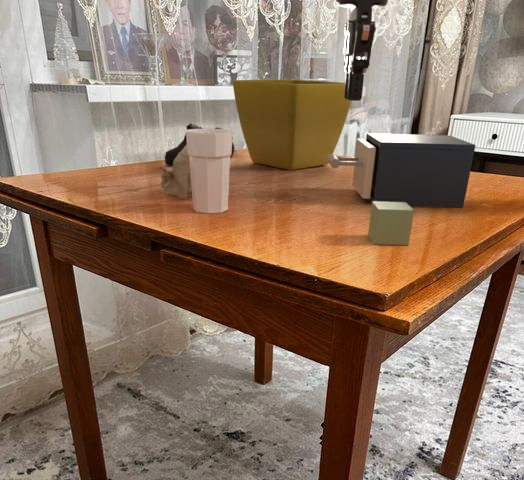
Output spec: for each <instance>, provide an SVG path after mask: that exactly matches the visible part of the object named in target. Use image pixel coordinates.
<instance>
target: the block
mask: <svg viewBox="0 0 524 480" xmlns="http://www.w3.org/2000/svg"><path fill="white" fill-rule="evenodd" d="M370 205H371V206H370V215H369V222H368V229H367V231H368V232H367V236H368V237H369V239H370V240H371V242H372V243H373V245H379V246H381V245H382V246H385V245H386V246H409V245H410V240H411V234H412V227H413V221H414V215H415V210H414V209H413V207H412V206H409V205H408V204H407V203H406V202H380V201H372V203H371V204H370Z"/></svg>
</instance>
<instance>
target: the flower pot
mask: <svg viewBox="0 0 524 480" xmlns="http://www.w3.org/2000/svg"><path fill="white" fill-rule="evenodd" d="M232 89H233V94H234V100H235V106H236V110H237V111H236V112H237V116H238V120H239V124H240V128H241V132H242V135H243V139H244V142H245V145H246V148H247V151H248V154H249V157H250V159H251V162H252V163H254V164H260V165H265V166H269V167H272V168H273V167H274V168H279V169H283V170H288V171H289V170H290V171H294V170H299V169H300V170H301V169H305V168H312V167H320V166H326V165H328V164H329V162H328V161H327V156H328V155H329V154H334V152H335V150H336V147H337V145H338V143H339V140H340V138H341V135H342V133H343V129H344V127H345V123H346V120H347V117H348V114H349V111H350V108H351V104H352V101H350V100H348V99H345V98H344V91H345V82H341V81H324V80H307V79H305V80H304V79H233V80H232Z"/></svg>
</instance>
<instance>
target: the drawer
mask: <svg viewBox="0 0 524 480" xmlns="http://www.w3.org/2000/svg"><path fill="white" fill-rule="evenodd" d="M355 144H356V145H355V155H354V156H337V155H336V154H334V153H333V154H329V155H328V156H327V161H328V162H329V163H328V164H329V166H330V167H331V168H333V169H338V168H339V167H341V166H342V167H345V166H346V167H353V173H352V183H351V185H352V186H353V188H354V189H355V191H356V192H357V193H358V195H360V197H361V198H362V199H363V200H369V199H370V194H371V189H372V190H373V192H374V186H375V178H376V170H377V162H378V154H379V146H377V145H376V144H375V143H373V142H372V145H371V144H370V143H368V142H367V141H366V139H364V138H356V143H355Z"/></svg>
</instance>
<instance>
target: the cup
mask: <svg viewBox="0 0 524 480" xmlns="http://www.w3.org/2000/svg"><path fill="white" fill-rule="evenodd" d="M185 134H186V139H187V152H188V154H189V163H190V174H191V186H192V193H191V195H192V196H191V197H192V210H194V211H195V212H196V213H202V214H221V213H224V212H226V211H228V210H229V193H230V191H229V190H230V172H231V171H230V169H231V159H230V156H231V153H232V142H233V141H232V137H233V130H230V129H224V128H221V129H215V128H203V129H188V130H187V129H186V130H185Z"/></svg>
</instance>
